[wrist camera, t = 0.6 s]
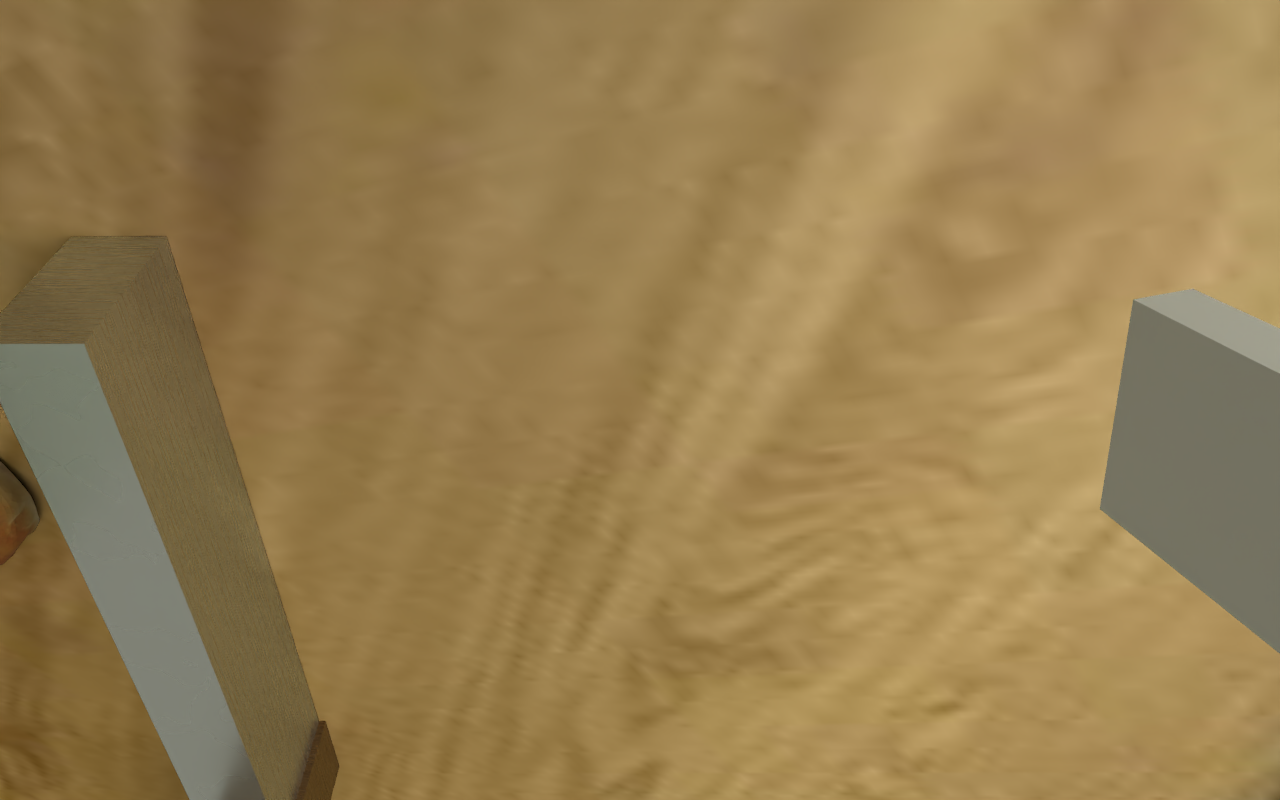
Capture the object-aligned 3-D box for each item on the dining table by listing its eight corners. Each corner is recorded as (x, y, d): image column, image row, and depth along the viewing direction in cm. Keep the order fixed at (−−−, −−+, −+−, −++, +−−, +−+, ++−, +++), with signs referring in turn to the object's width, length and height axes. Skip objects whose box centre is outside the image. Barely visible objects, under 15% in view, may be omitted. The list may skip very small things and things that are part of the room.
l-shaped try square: (61, 236, 27) (-349, 673, 16) (175, 236, 27) (-154, 673, 16) (265, 766, 41) (126, 1188, 30) (339, 766, 41) (228, 1188, 30)
